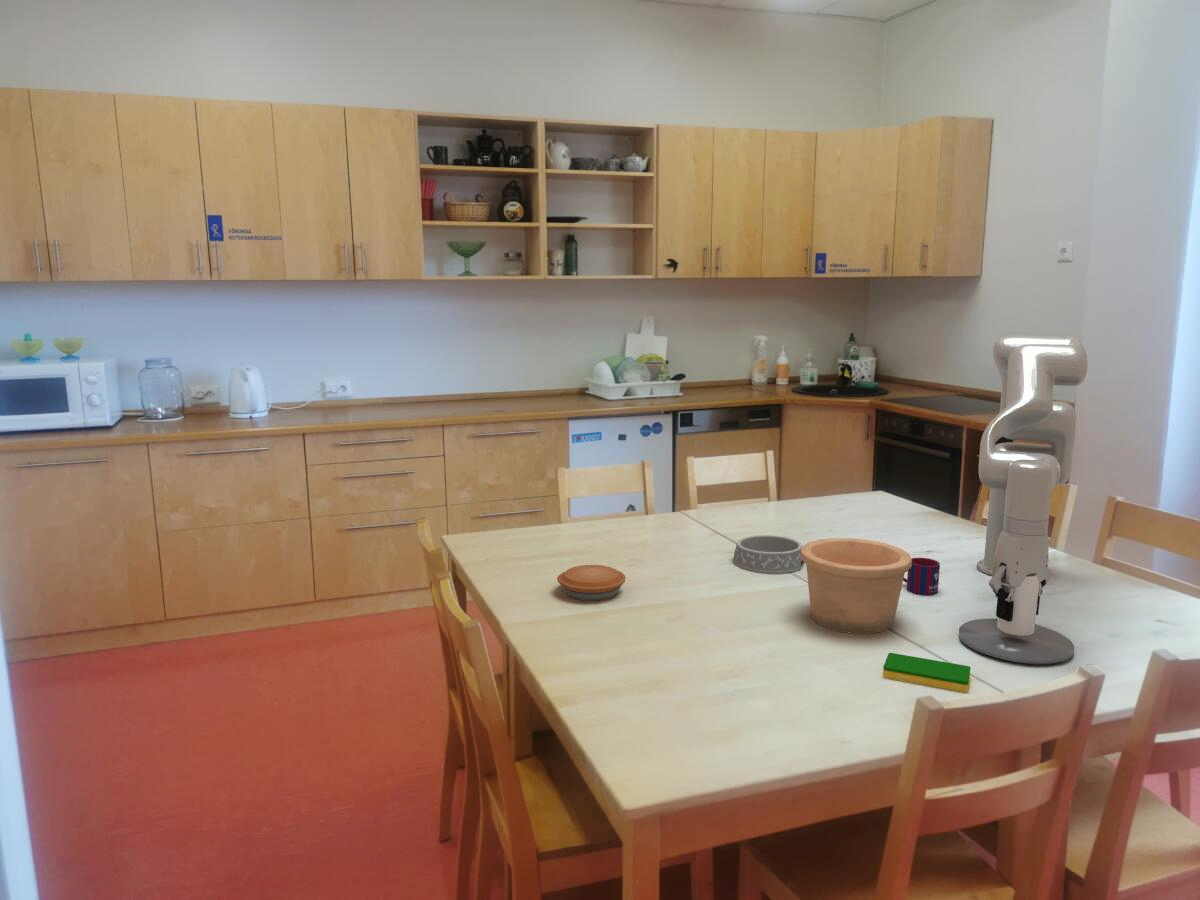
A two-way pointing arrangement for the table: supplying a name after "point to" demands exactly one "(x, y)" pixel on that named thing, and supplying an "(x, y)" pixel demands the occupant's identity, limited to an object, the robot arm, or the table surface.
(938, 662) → the dish sponge
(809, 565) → the pottery
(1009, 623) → the can
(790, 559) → the dog bowl
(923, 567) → the mug
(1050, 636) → the dish
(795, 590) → the table surface
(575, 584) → the pie
